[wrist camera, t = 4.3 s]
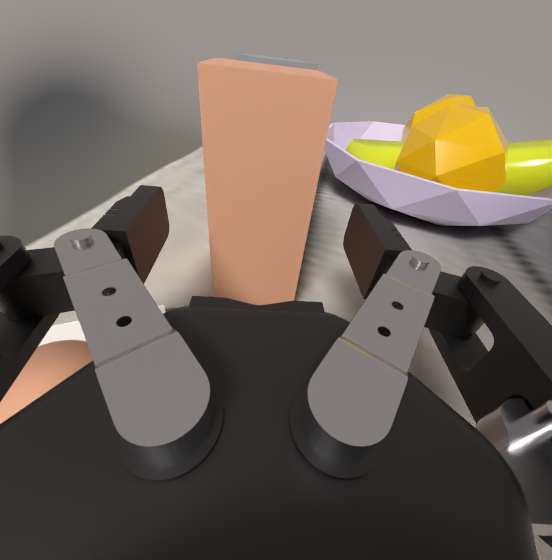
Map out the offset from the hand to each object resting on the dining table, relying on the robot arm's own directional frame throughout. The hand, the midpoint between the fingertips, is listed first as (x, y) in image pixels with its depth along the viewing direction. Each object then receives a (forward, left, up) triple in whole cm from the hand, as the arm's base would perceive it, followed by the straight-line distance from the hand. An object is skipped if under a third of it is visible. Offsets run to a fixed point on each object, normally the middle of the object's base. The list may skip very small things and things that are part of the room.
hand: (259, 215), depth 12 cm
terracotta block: (-1, -4, -7) cm, 8 cm away
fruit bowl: (-26, -13, -7) cm, 30 cm away
